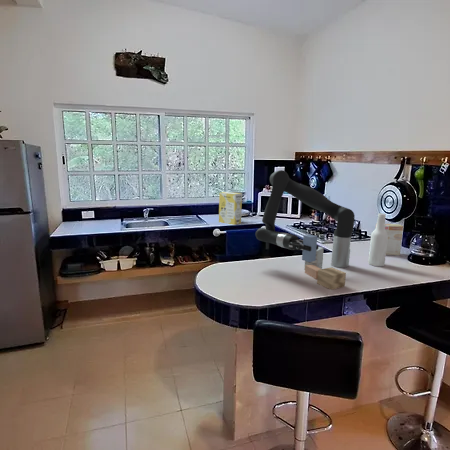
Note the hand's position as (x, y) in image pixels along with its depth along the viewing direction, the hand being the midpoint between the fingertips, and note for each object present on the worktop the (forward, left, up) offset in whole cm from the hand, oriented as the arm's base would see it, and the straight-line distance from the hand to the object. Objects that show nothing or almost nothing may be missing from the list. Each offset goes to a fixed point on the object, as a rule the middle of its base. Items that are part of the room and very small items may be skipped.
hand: (314, 248), depth 157 cm
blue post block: (0, -3, -7) cm, 7 cm away
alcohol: (-58, +1, -18) cm, 61 cm away
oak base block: (-7, +6, -18) cm, 20 cm away
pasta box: (-65, -146, -18) cm, 161 cm away
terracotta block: (-11, -7, -18) cm, 22 cm away
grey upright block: (-18, -13, -18) cm, 29 cm away
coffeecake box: (-87, -8, -18) cm, 89 cm away
